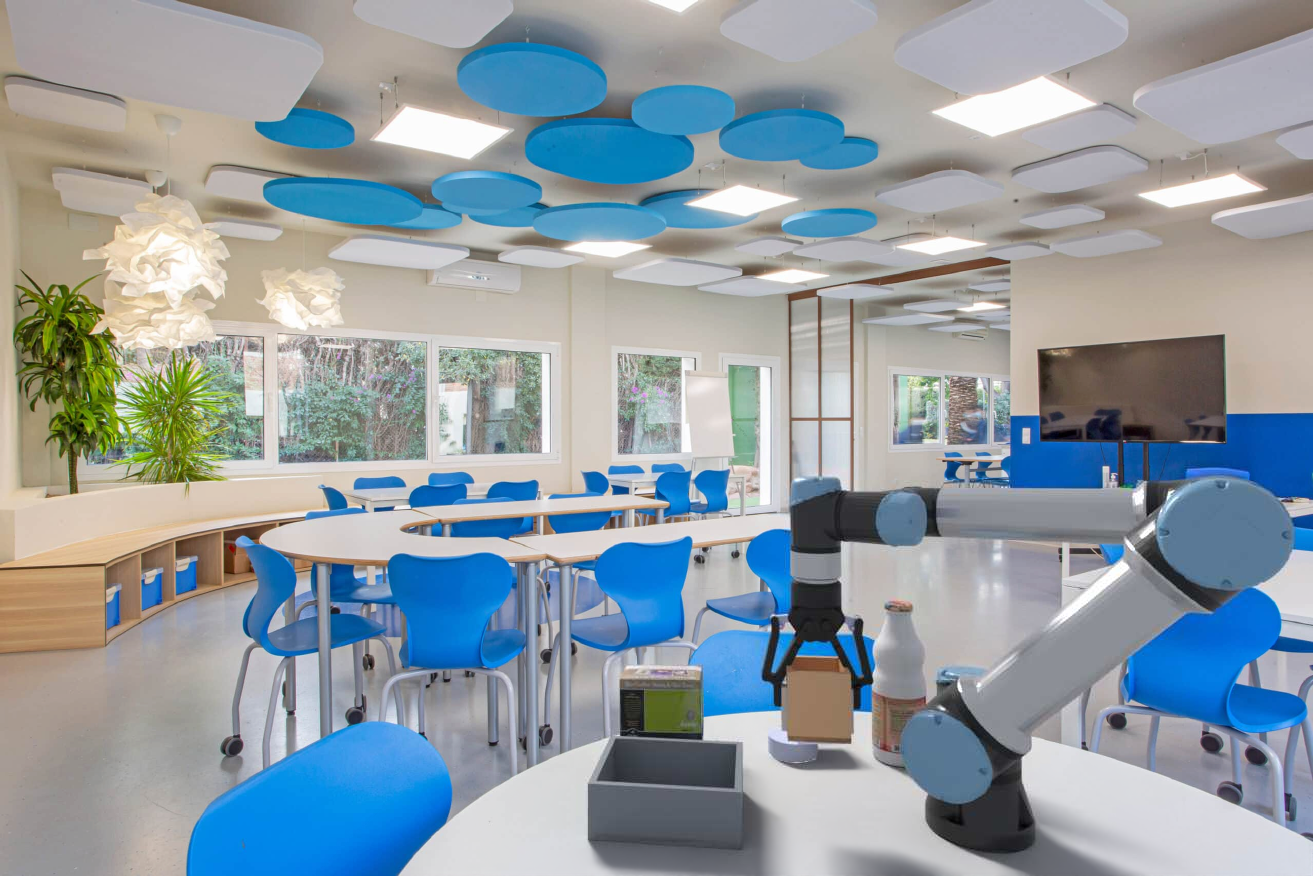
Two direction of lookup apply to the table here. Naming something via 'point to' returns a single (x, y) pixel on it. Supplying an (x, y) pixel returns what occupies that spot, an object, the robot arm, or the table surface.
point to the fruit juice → (896, 681)
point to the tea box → (662, 701)
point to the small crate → (818, 700)
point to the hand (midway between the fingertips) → (816, 729)
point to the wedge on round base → (790, 747)
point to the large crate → (668, 792)
